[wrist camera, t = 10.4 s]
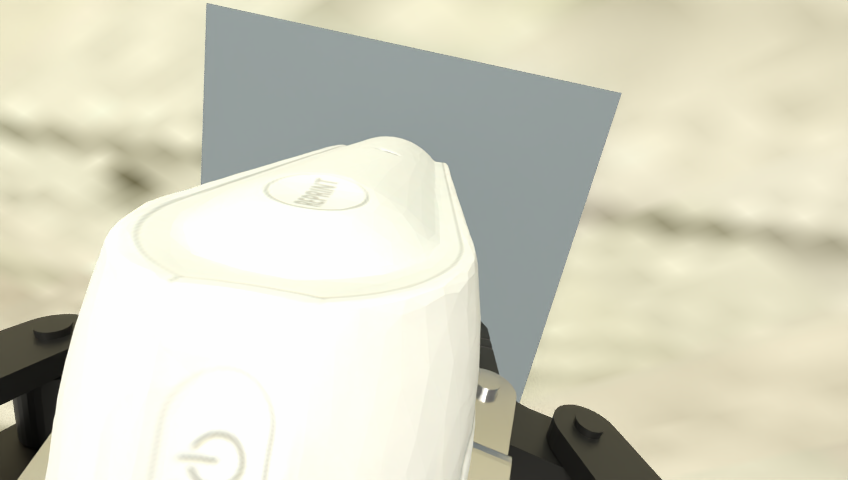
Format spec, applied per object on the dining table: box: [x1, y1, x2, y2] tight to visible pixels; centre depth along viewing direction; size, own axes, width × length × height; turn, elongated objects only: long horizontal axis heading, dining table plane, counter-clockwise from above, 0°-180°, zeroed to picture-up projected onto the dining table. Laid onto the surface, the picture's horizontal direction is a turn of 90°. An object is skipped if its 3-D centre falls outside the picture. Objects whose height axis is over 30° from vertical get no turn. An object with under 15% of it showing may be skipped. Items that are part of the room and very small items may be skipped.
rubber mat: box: [201, 3, 621, 403], centre depth 18 cm, size 16×16×1 cm
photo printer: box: [45, 136, 481, 480], centre depth 9 cm, size 10×4×12 cm, turn 170°
